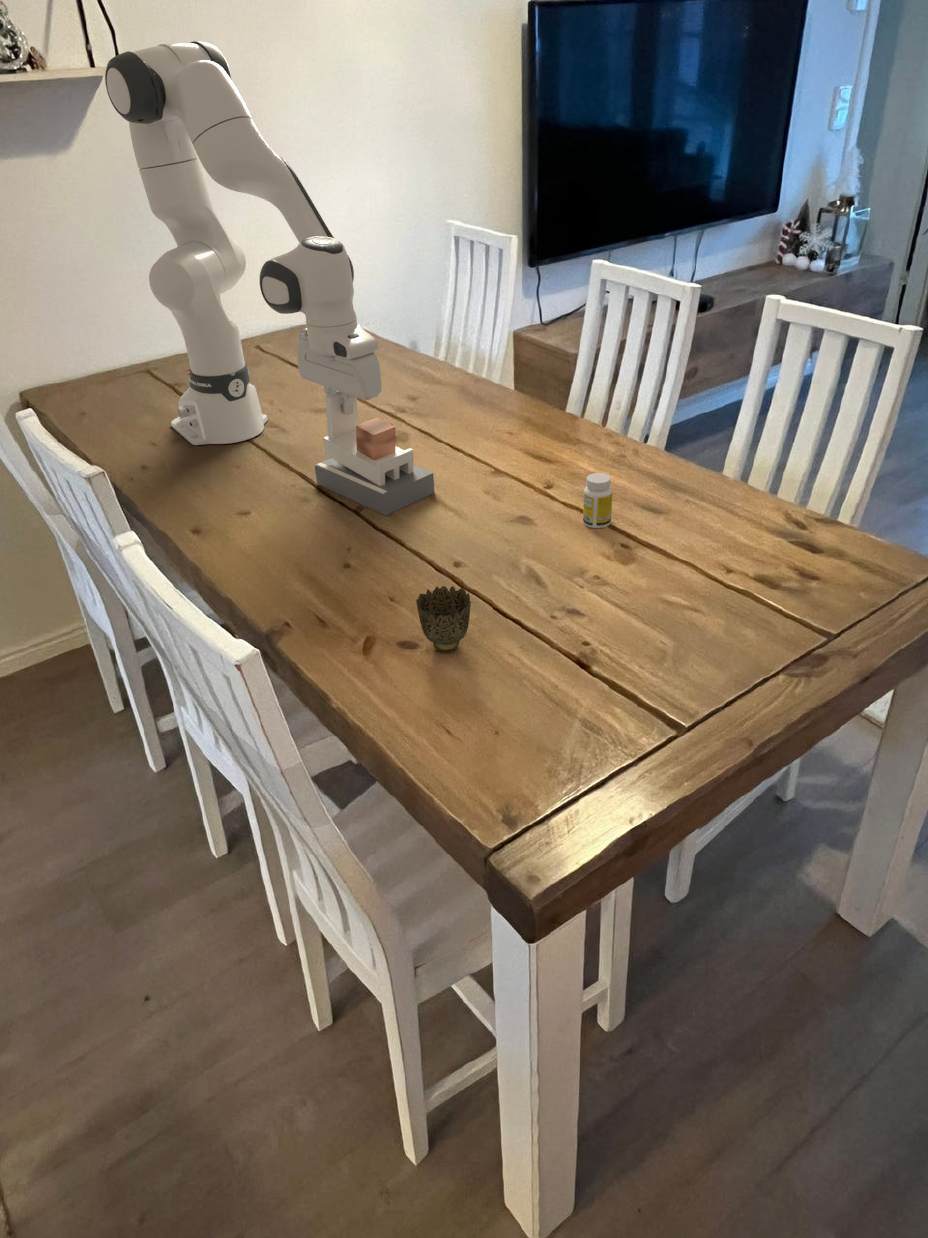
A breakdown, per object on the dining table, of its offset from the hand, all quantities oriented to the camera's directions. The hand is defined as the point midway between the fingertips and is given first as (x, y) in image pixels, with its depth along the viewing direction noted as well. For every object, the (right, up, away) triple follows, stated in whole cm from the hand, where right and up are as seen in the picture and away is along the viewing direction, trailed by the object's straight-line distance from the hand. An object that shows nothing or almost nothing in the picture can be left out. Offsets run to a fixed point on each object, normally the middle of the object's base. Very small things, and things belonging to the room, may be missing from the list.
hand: (342, 411), depth 167 cm
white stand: (+5, -9, +1) cm, 11 cm away
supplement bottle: (+45, -22, -12) cm, 52 cm away
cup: (+20, -43, -41) cm, 62 cm away
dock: (+6, -14, +3) cm, 15 cm away
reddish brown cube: (+6, -8, -3) cm, 10 cm away
